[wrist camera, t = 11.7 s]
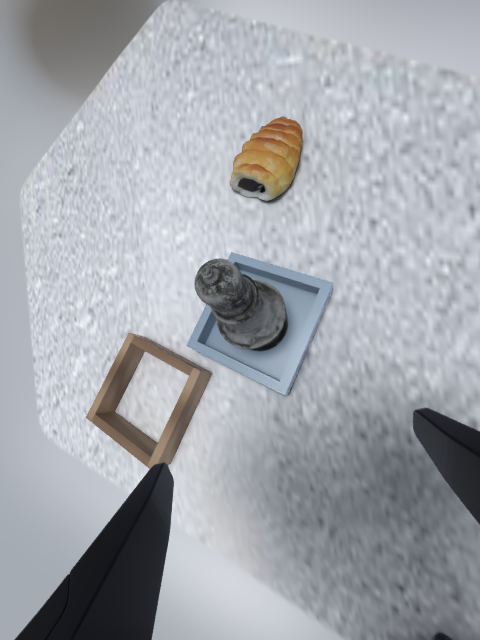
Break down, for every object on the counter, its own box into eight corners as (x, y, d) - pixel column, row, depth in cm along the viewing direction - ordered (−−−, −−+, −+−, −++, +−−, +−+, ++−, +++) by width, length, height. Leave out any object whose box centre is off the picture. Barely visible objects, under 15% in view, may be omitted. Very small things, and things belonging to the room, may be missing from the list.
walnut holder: (170, 463, 24) (153, 471, 22) (106, 415, 27) (85, 417, 25) (212, 372, 25) (200, 371, 22) (144, 337, 28) (128, 332, 26)
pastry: (265, 129, 30) (257, 96, 27) (319, 136, 28) (318, 100, 24) (229, 196, 30) (217, 170, 26) (282, 209, 27) (276, 182, 24)
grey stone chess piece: (250, 367, 23) (181, 348, 12) (220, 316, 25) (139, 262, 14) (304, 330, 22) (284, 275, 11) (269, 282, 25) (223, 196, 14)
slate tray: (288, 394, 22) (284, 395, 20) (197, 349, 26) (186, 345, 24) (332, 291, 23) (333, 282, 21) (238, 262, 27) (231, 252, 25)
